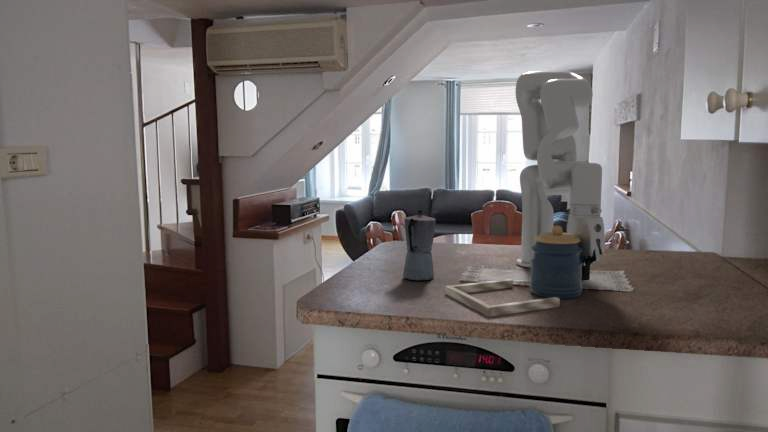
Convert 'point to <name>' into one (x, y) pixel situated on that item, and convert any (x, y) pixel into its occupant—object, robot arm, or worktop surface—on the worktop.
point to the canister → (556, 265)
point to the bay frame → (500, 309)
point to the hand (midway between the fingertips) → (582, 279)
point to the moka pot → (419, 247)
